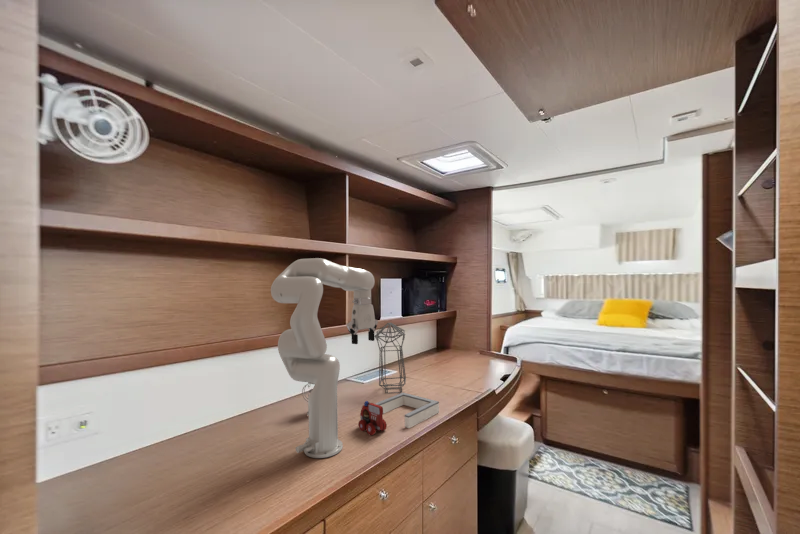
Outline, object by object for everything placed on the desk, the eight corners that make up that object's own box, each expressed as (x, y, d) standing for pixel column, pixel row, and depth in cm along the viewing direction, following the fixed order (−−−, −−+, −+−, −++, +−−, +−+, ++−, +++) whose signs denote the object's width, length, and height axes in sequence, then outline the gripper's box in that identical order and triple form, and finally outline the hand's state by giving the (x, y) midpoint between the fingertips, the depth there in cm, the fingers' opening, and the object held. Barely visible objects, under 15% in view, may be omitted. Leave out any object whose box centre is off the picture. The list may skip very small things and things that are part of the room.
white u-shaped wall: (409, 428, 132) (408, 416, 132) (372, 415, 145) (371, 404, 145) (439, 412, 147) (438, 401, 147) (403, 402, 160) (402, 392, 160)
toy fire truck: (369, 423, 138) (369, 396, 138) (389, 432, 129) (389, 404, 129) (355, 428, 133) (354, 400, 134) (375, 438, 124) (374, 409, 124)
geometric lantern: (408, 395, 170) (404, 324, 171) (376, 396, 170) (373, 325, 171) (408, 385, 186) (405, 320, 187) (379, 386, 186) (375, 321, 187)
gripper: (353, 303, 140) (353, 346, 139) (382, 301, 153) (383, 340, 152) (341, 303, 145) (341, 344, 144) (370, 300, 158) (371, 338, 157)
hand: (363, 342), depth 148 cm, fingers open, 9 cm apart
